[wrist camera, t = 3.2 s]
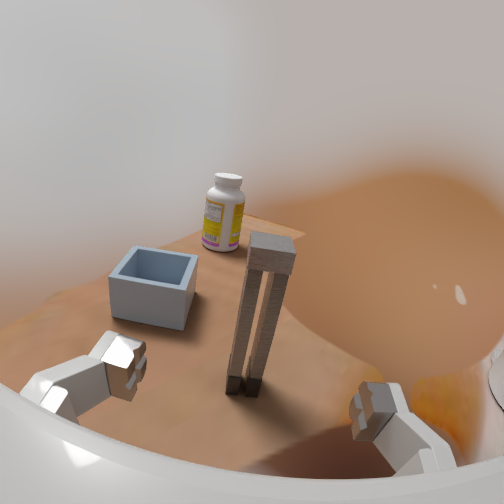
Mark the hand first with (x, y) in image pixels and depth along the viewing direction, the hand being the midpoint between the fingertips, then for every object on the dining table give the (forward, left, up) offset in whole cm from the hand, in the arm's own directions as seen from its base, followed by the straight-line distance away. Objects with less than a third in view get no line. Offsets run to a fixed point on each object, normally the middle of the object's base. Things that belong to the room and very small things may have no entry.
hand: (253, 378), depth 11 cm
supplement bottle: (+4, -44, -14) cm, 47 cm away
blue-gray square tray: (+10, -23, -14) cm, 29 cm away
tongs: (-1, -12, -14) cm, 19 cm away
